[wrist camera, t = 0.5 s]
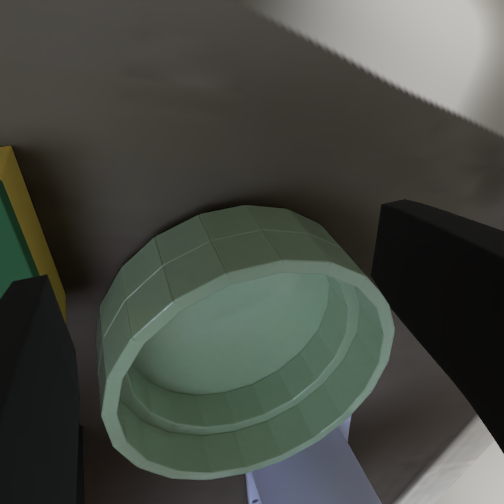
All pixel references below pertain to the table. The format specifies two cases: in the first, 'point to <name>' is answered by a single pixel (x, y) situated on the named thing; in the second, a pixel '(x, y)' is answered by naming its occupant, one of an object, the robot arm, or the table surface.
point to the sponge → (22, 233)
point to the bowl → (236, 343)
